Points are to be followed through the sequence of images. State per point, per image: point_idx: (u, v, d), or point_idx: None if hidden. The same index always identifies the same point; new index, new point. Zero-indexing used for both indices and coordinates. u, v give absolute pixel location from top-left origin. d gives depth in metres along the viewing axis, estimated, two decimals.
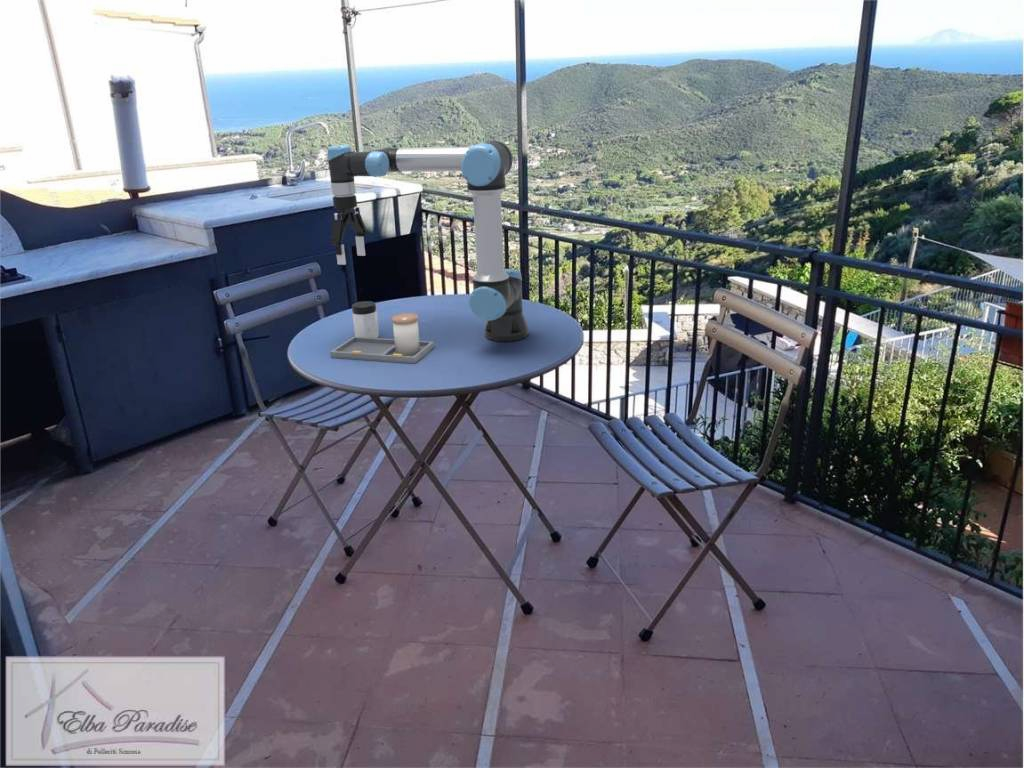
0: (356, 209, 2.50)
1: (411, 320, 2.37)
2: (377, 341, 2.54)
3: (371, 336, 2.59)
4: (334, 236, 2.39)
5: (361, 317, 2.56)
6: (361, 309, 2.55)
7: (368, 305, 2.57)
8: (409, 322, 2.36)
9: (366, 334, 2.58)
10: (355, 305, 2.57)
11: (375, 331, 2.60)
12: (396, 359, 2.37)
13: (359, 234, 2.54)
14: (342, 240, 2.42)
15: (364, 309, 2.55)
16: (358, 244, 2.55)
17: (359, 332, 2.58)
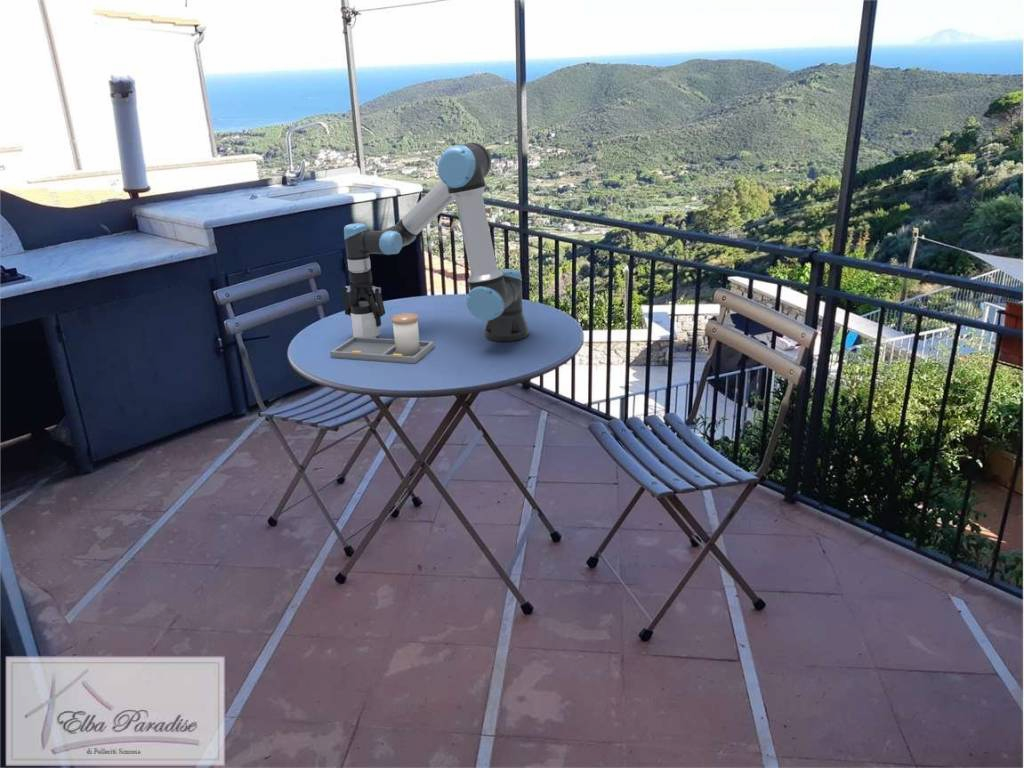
0: (375, 289, 2.54)
1: (411, 320, 2.37)
2: (377, 341, 2.54)
3: (369, 336, 2.59)
4: None
5: (359, 317, 2.56)
6: (359, 309, 2.55)
7: (366, 305, 2.57)
8: (409, 322, 2.36)
9: (364, 334, 2.58)
10: (353, 305, 2.57)
11: (373, 331, 2.60)
12: (396, 359, 2.37)
13: None
14: None
15: (362, 309, 2.55)
16: None
17: (357, 332, 2.59)
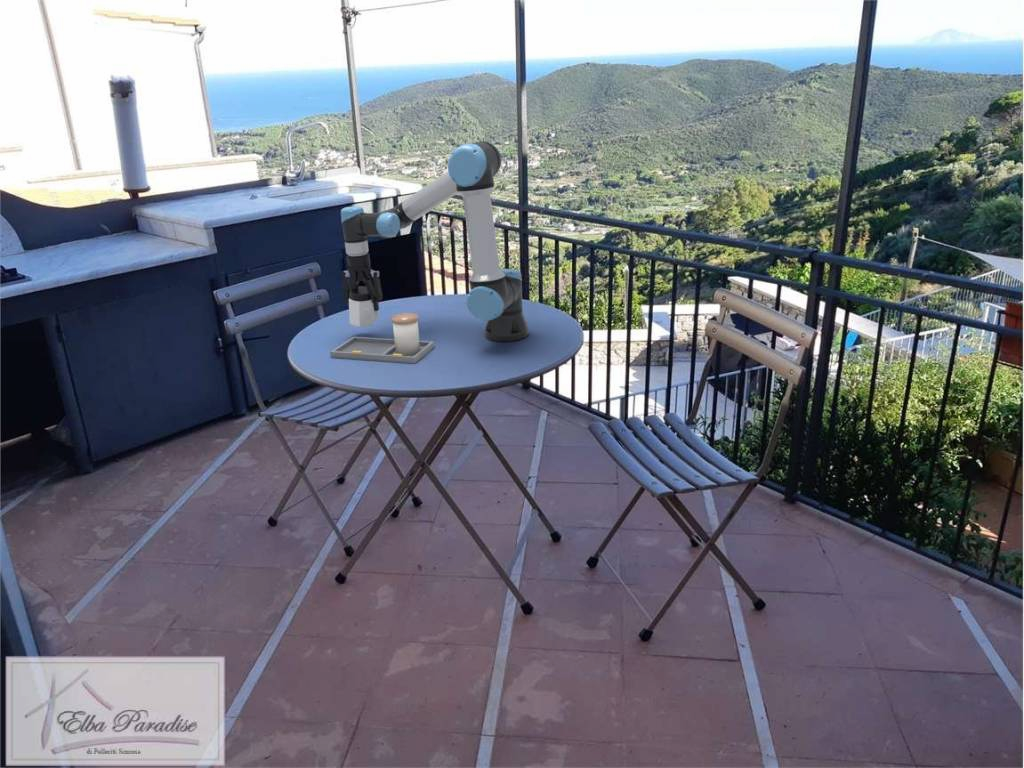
0: (374, 273, 2.52)
1: (411, 320, 2.37)
2: (377, 341, 2.54)
3: (365, 323, 2.58)
4: None
5: (357, 304, 2.54)
6: (358, 296, 2.53)
7: (365, 292, 2.55)
8: (409, 322, 2.36)
9: (361, 321, 2.57)
10: (352, 290, 2.55)
11: (370, 318, 2.58)
12: (396, 359, 2.37)
13: None
14: None
15: (361, 296, 2.53)
16: None
17: (354, 318, 2.57)
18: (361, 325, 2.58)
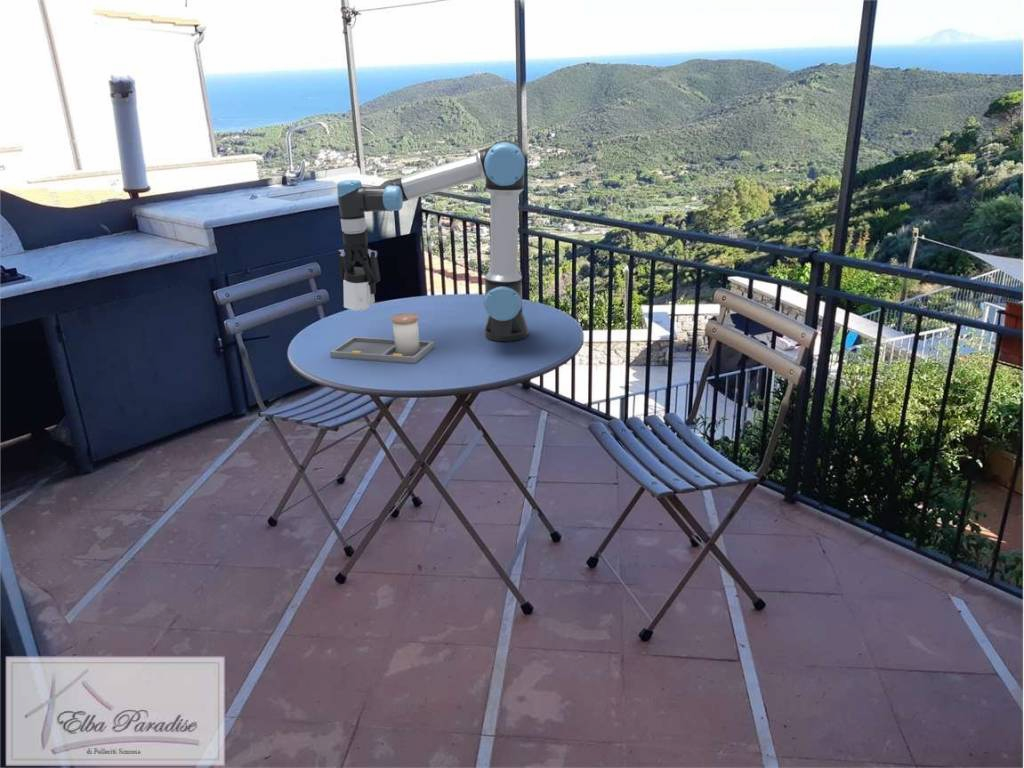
0: None
1: (411, 320, 2.37)
2: (377, 341, 2.54)
3: (361, 306, 2.40)
4: None
5: (352, 285, 2.36)
6: (353, 277, 2.35)
7: (361, 273, 2.37)
8: (409, 322, 2.36)
9: (356, 304, 2.39)
10: (347, 271, 2.37)
11: (366, 301, 2.40)
12: (396, 359, 2.37)
13: None
14: None
15: (356, 277, 2.35)
16: None
17: (348, 300, 2.39)
18: (356, 309, 2.40)
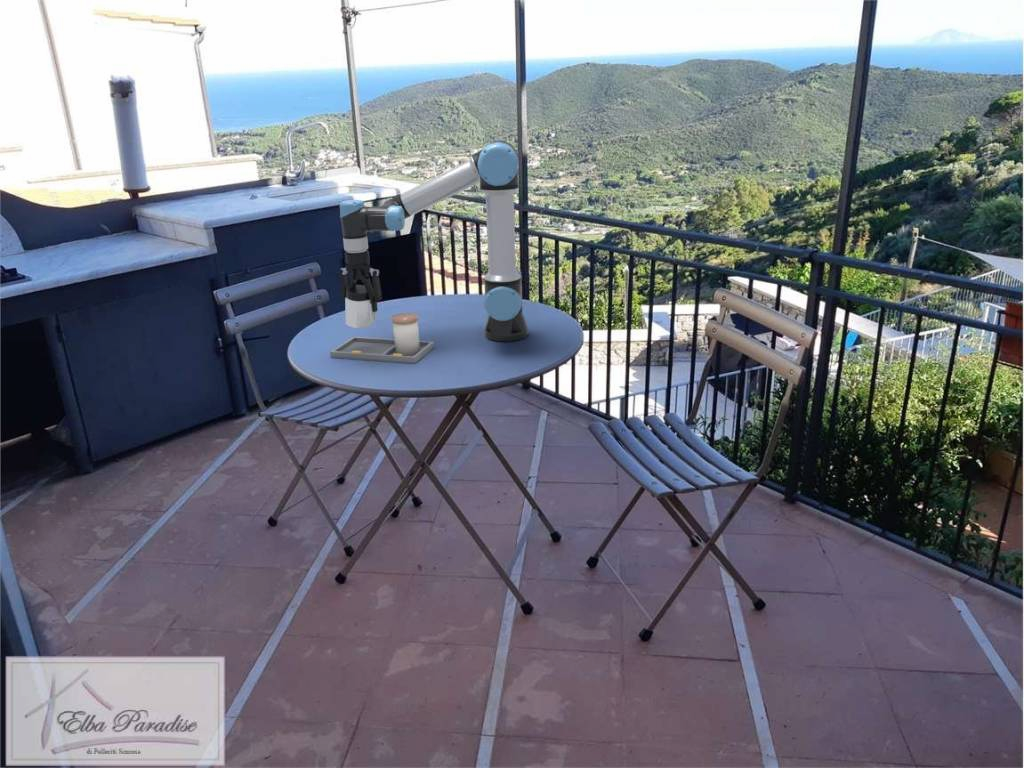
0: (373, 271, 2.36)
1: (411, 320, 2.37)
2: (377, 341, 2.54)
3: (362, 324, 2.42)
4: None
5: (354, 303, 2.38)
6: (355, 295, 2.37)
7: (363, 291, 2.39)
8: (409, 322, 2.36)
9: (357, 322, 2.41)
10: (349, 289, 2.39)
11: (367, 319, 2.43)
12: (396, 359, 2.37)
13: None
14: None
15: (358, 296, 2.37)
16: None
17: (350, 318, 2.42)
18: (358, 326, 2.42)
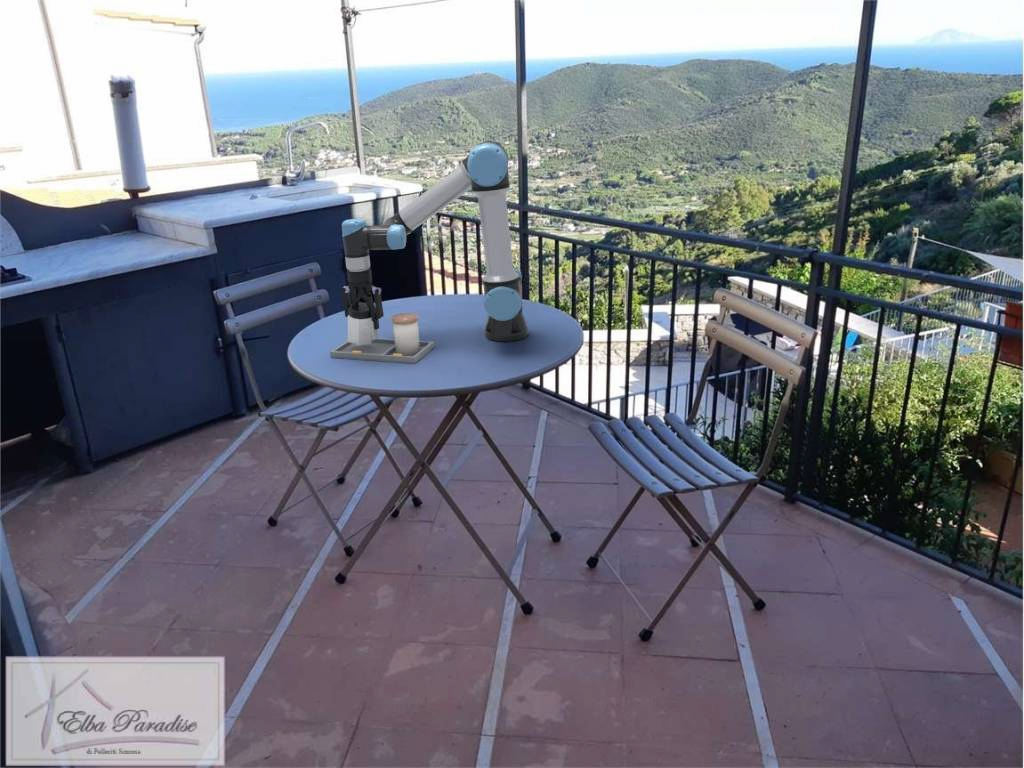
0: (375, 290, 2.38)
1: (411, 320, 2.37)
2: (377, 341, 2.54)
3: (365, 341, 2.45)
4: None
5: (356, 321, 2.41)
6: (357, 313, 2.39)
7: (365, 309, 2.41)
8: (409, 322, 2.36)
9: (359, 339, 2.43)
10: (352, 307, 2.42)
11: (369, 337, 2.45)
12: (396, 359, 2.37)
13: None
14: None
15: (360, 314, 2.40)
16: None
17: (352, 336, 2.44)
18: (360, 344, 2.44)
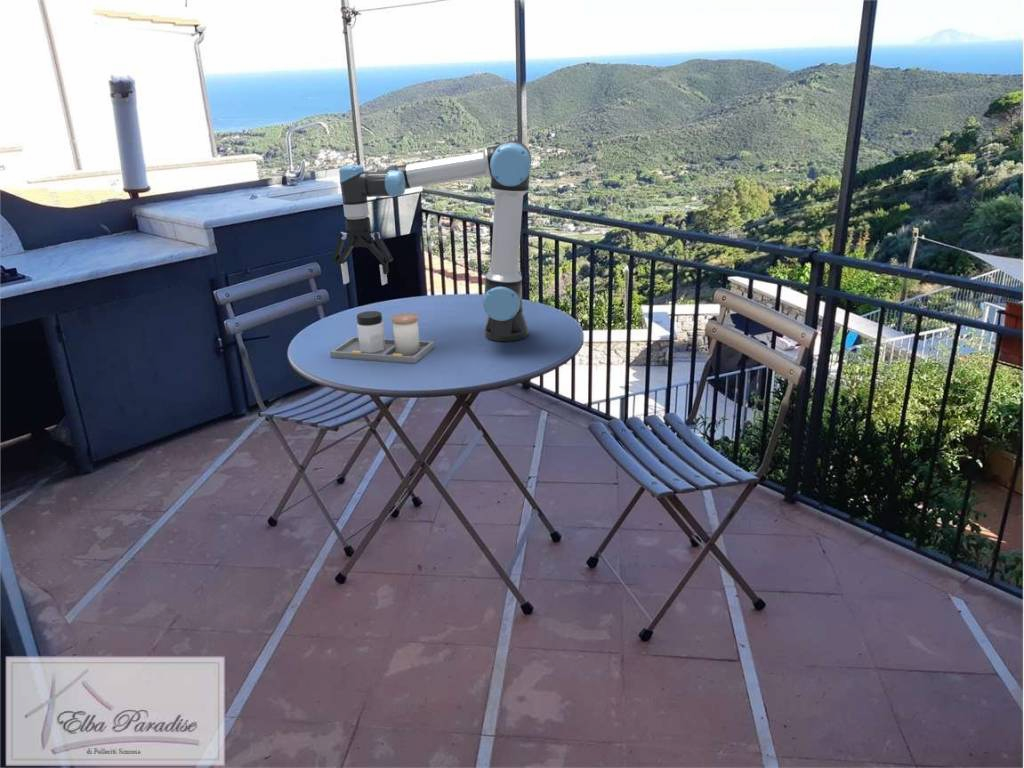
0: None
1: (411, 320, 2.37)
2: None
3: (377, 348, 2.45)
4: None
5: (366, 328, 2.41)
6: (366, 320, 2.41)
7: (374, 315, 2.42)
8: (409, 322, 2.36)
9: (371, 346, 2.44)
10: (360, 315, 2.43)
11: (381, 343, 2.45)
12: (396, 359, 2.37)
13: None
14: (342, 260, 2.39)
15: (369, 320, 2.41)
16: None
17: (364, 344, 2.44)
18: (372, 351, 2.44)
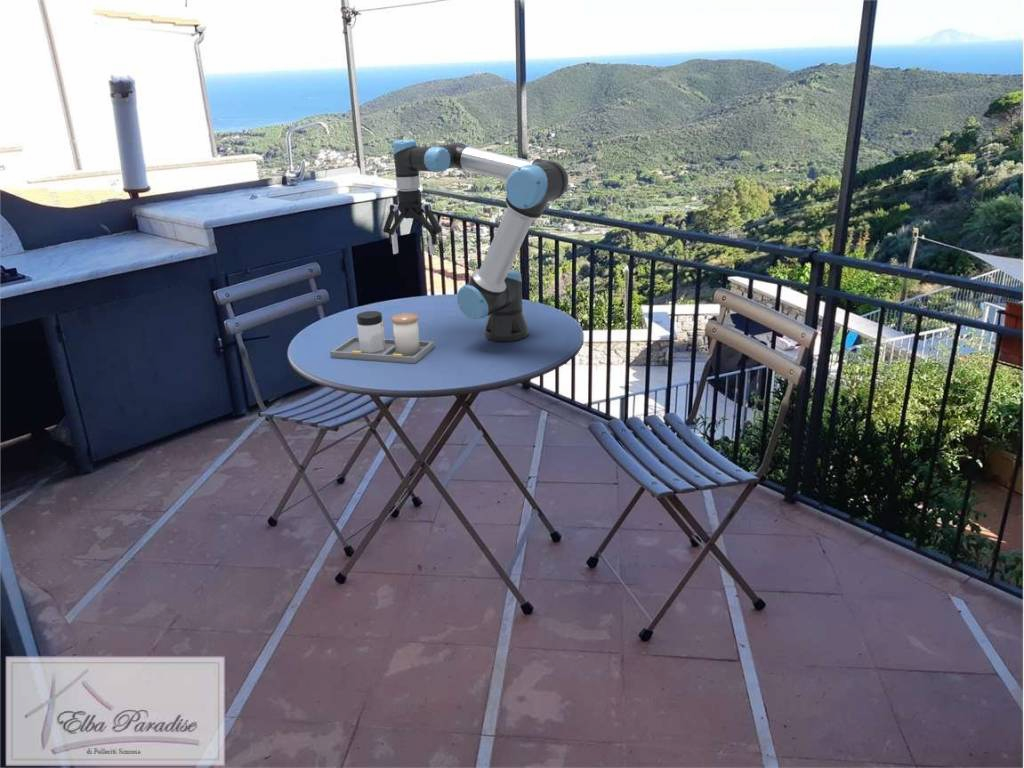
0: None
1: (411, 320, 2.37)
2: None
3: (377, 348, 2.45)
4: None
5: (366, 328, 2.41)
6: (366, 320, 2.41)
7: (374, 315, 2.42)
8: (409, 322, 2.36)
9: (371, 346, 2.44)
10: (360, 315, 2.43)
11: (381, 343, 2.45)
12: (396, 359, 2.37)
13: None
14: (392, 230, 2.50)
15: (369, 320, 2.41)
16: None
17: (364, 344, 2.44)
18: (372, 351, 2.44)
